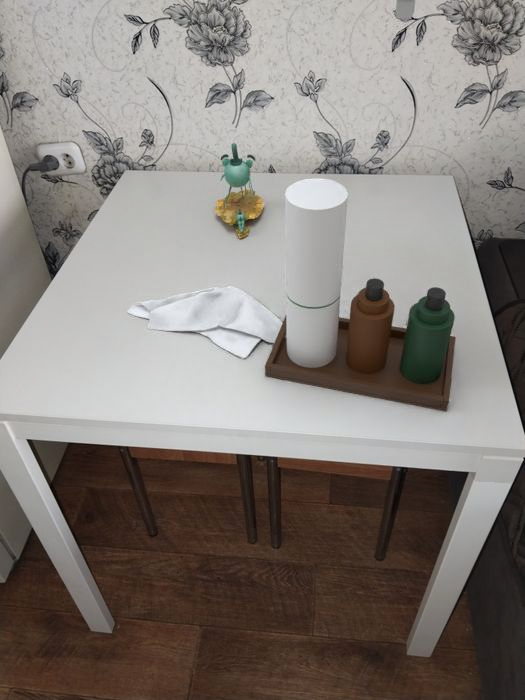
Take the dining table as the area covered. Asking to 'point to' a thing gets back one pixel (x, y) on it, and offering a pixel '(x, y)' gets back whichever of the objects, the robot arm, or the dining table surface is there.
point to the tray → (375, 384)
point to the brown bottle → (369, 328)
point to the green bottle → (427, 337)
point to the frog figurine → (238, 194)
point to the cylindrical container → (314, 268)
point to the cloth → (214, 317)
